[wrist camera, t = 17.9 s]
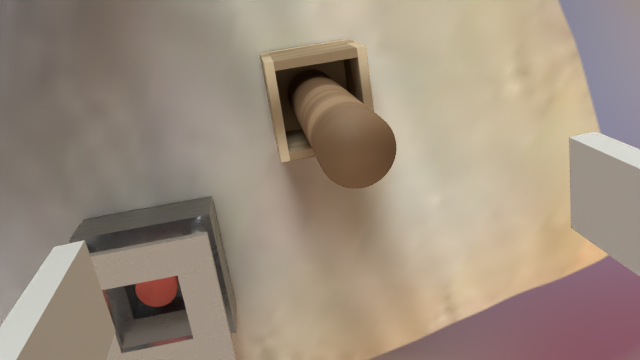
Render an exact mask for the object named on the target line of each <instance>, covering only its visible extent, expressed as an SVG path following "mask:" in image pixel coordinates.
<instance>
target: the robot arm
mask: <svg viewBox="0 0 640 360" xmlns="http://www.w3.org/2000/svg"><path fill="white" fill-rule="evenodd" d="M569 155H570V203H571V228H572V229H573V230H575V231H576V232H578V233H579V234H580V235H582V236H583V237H585V238H586V239H588V240H589V241H590V242H592V243H593V244H595V245H596V246H597V247H599V248H600V249H602V250H603V251H604V252H606V253H607V254H609V255H610V256H612V257H613V258H614V259H616V260H617V261H618V262H620V263H621V264H623V265H624V266H626V267H627V268H628V269H630V270H631V271H633V272H634V273H636V274H637V275H638V276H640V149H637V148H635V147H633V146H630V145H627V144H625V143H622V142H620V141H617V140H615V139H612V138H610V137H607V136H605V135H602V134H600V133H597V132H591V133H587V134H582V135H577V136H573V137H569ZM115 332H116V330H115V327H114V324H113V321H112V318H111V315H110V313H109V310H108V307H107V304H106V301H105V298H104V295H103V292H102V289H101V286H100V283H99V280H98V278H97V275H96V272H95V269H94V266H93V263H92V260H91V257H90V254H89V251H88V248H87V245H86V243H85V240H83V241H79V242H74V243H69V244H64V245H60V246H55V247H54V248H53V249H52V251H51V252H50V254H49V255H48V257H47V258H46V260H45V261H44V262H43V264H42V265H41V267H40V268H39V270H38V271H37V273H36V274H35V276H34V277H33V279H32V280H31V282H30V283H29V285H28V286H27V288H26V289H25V291H24V292H23V294H22V295H21V296H20V298H19V299H18V301H17V302H16V304H15V305H14V307H13V308H12V310H11V311H10V313H9V314H8V316H7V317H6V319H5V320H4V322H3V323H2V325H1V326H0V360H106V359H107V356H108V353H109V350H110V347H111V344H112V341H113V338H114V335H115Z"/></svg>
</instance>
